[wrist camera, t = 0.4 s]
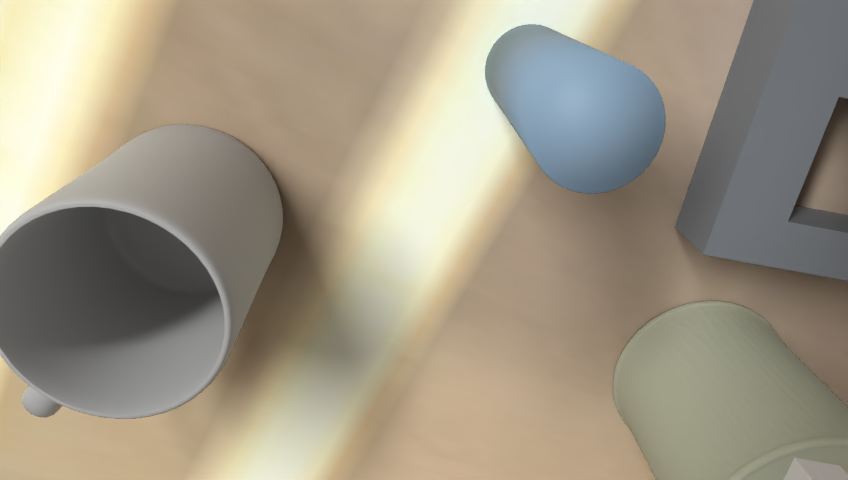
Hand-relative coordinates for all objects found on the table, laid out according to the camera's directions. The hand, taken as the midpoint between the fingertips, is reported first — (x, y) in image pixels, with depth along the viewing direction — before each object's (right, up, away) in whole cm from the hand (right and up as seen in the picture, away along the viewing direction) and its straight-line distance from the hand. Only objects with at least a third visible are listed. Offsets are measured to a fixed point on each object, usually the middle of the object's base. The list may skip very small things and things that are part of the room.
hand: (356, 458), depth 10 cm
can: (+16, -4, +28) cm, 32 cm away
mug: (-11, +4, +24) cm, 27 cm away
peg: (+6, +11, +22) cm, 25 cm away
